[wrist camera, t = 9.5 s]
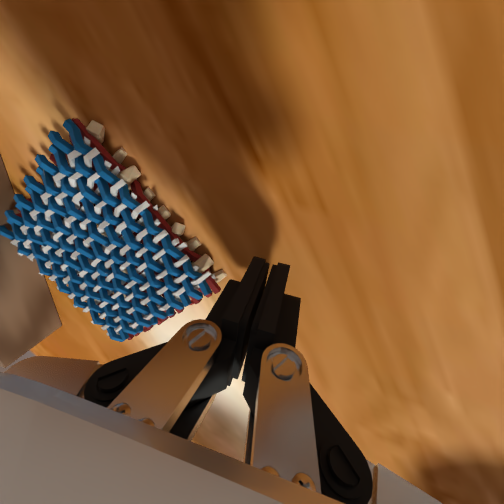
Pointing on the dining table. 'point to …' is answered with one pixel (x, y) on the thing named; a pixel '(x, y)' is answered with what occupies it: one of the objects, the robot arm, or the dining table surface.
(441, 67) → the dining table surface
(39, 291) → the bar
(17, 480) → the robot arm
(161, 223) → the woven mat
